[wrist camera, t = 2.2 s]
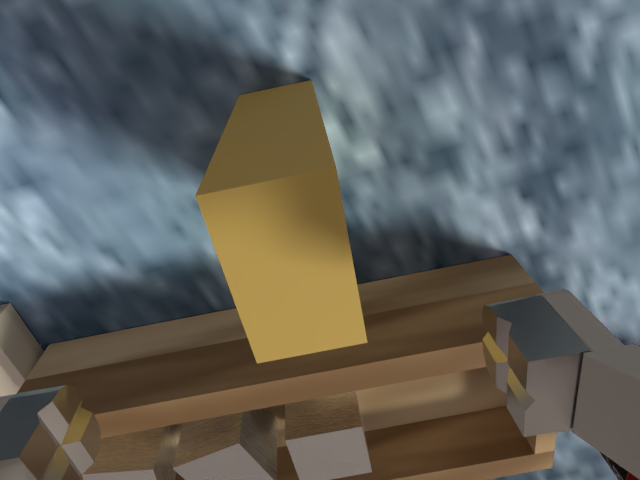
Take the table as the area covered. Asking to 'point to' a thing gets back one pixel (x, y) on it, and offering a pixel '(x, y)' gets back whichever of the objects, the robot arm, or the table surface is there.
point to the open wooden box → (329, 377)
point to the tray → (15, 351)
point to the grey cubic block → (327, 437)
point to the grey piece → (229, 447)
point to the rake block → (282, 226)
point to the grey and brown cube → (136, 456)
